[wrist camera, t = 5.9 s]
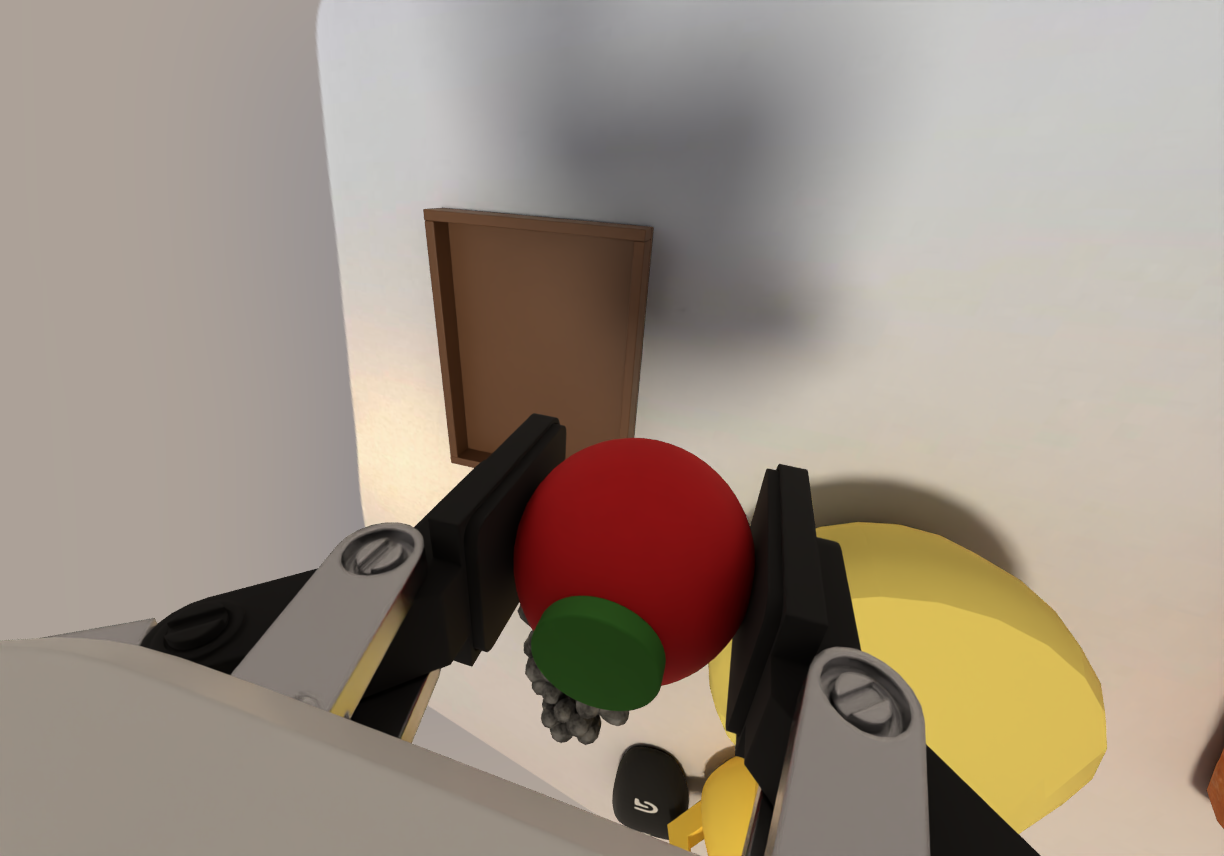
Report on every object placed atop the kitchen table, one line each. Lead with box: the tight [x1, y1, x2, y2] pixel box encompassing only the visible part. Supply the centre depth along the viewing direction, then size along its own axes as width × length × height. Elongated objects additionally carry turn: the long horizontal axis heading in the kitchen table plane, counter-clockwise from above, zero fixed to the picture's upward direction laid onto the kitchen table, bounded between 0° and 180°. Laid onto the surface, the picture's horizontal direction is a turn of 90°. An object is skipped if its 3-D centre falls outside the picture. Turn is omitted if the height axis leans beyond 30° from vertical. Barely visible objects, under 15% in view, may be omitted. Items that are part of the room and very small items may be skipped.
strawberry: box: [514, 438, 755, 711], centre depth 9 cm, size 4×4×5 cm
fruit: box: [518, 605, 629, 745], centre depth 38 cm, size 9×8×15 cm
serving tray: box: [423, 208, 653, 468], centre depth 31 cm, size 17×13×2 cm
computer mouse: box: [612, 747, 688, 840], centre depth 48 cm, size 8×12×4 cm, turn 3°
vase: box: [708, 522, 1107, 834], centre depth 25 cm, size 18×18×19 cm
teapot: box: [667, 756, 759, 856], centre depth 39 cm, size 20×18×11 cm
